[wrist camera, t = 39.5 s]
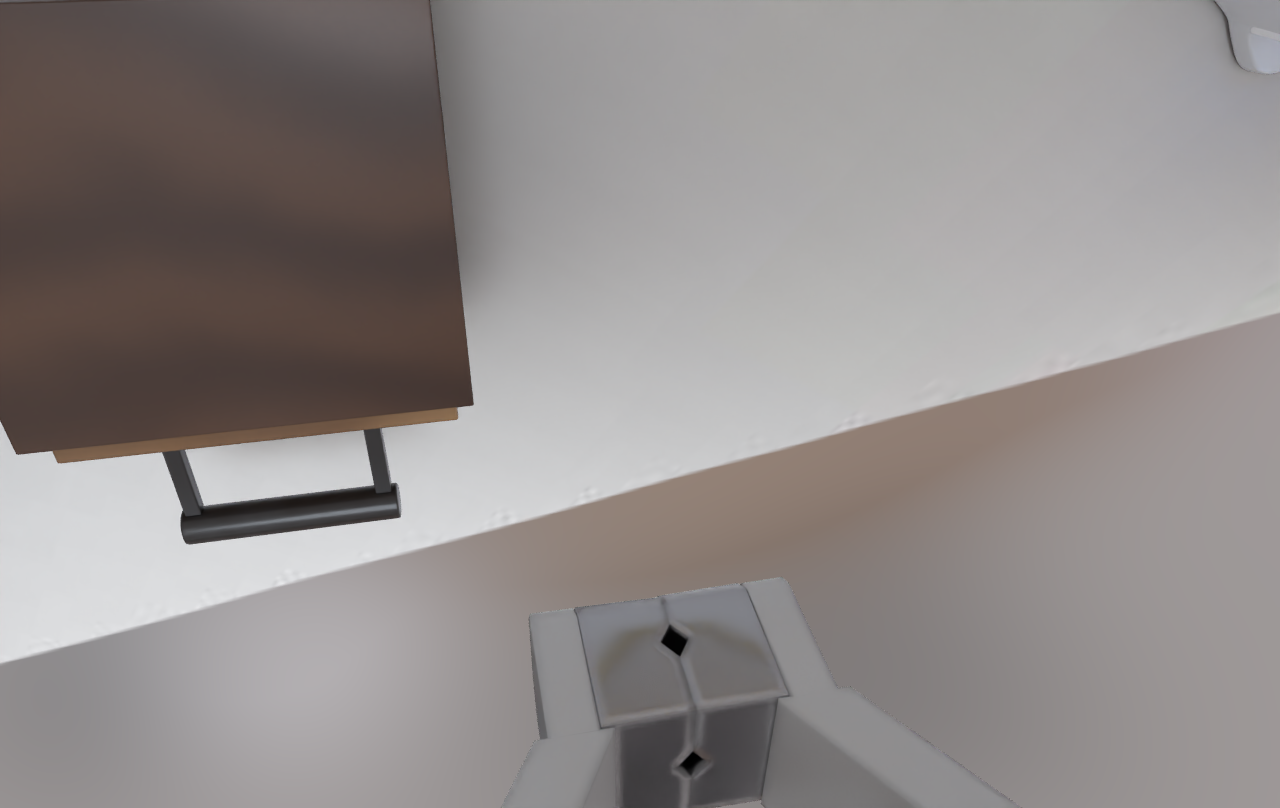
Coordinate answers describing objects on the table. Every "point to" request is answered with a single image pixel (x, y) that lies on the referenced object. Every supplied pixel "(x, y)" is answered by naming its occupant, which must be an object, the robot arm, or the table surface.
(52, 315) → the cabinet
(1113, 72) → the table surface
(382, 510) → the drawer
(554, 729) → the robot arm
